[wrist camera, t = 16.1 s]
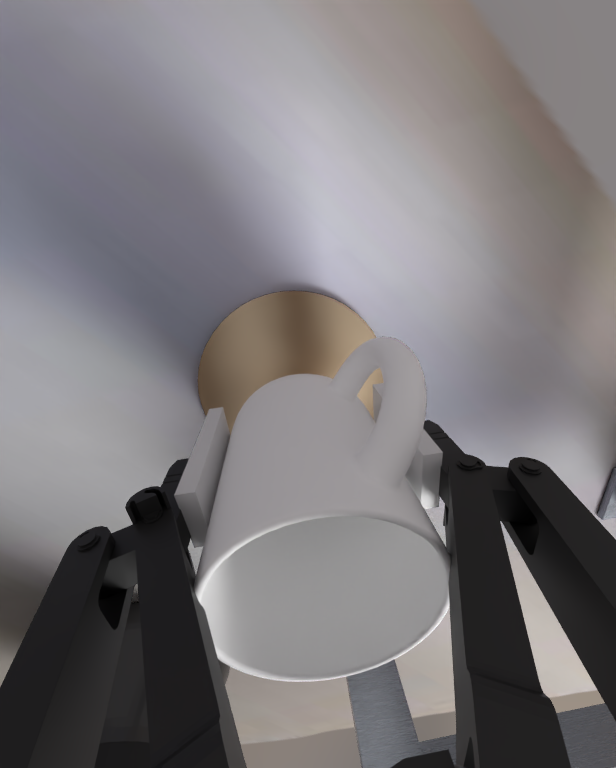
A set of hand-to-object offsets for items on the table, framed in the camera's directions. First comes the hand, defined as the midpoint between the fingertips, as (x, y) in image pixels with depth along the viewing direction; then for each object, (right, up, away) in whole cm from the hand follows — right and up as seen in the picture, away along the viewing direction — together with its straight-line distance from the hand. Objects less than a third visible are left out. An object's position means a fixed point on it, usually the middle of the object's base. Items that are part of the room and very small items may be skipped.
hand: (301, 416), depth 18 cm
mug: (+1, +1, +1) cm, 1 cm away
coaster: (-1, +2, +4) cm, 5 cm away
